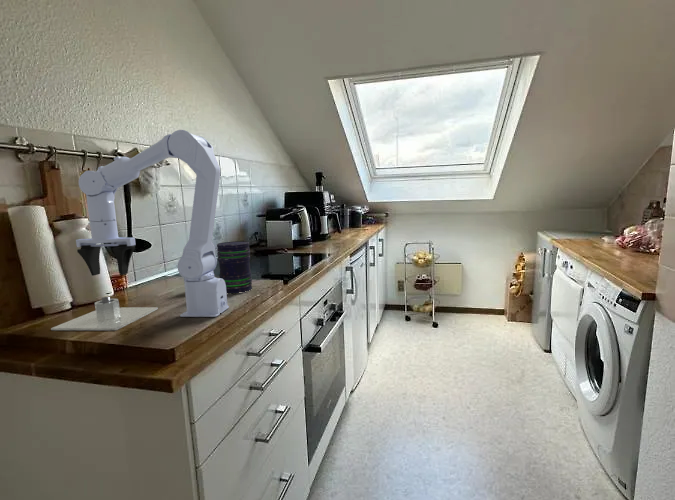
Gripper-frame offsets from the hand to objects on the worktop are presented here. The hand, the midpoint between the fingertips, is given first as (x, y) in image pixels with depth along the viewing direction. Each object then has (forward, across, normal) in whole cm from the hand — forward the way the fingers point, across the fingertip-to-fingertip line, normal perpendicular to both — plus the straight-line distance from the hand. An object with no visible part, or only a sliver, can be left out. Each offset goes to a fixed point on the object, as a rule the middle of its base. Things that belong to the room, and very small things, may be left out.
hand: (109, 274), depth 94 cm
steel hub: (+10, -1, +4) cm, 11 cm away
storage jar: (+11, -24, -24) cm, 35 cm away
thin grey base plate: (+10, -1, +4) cm, 11 cm away
